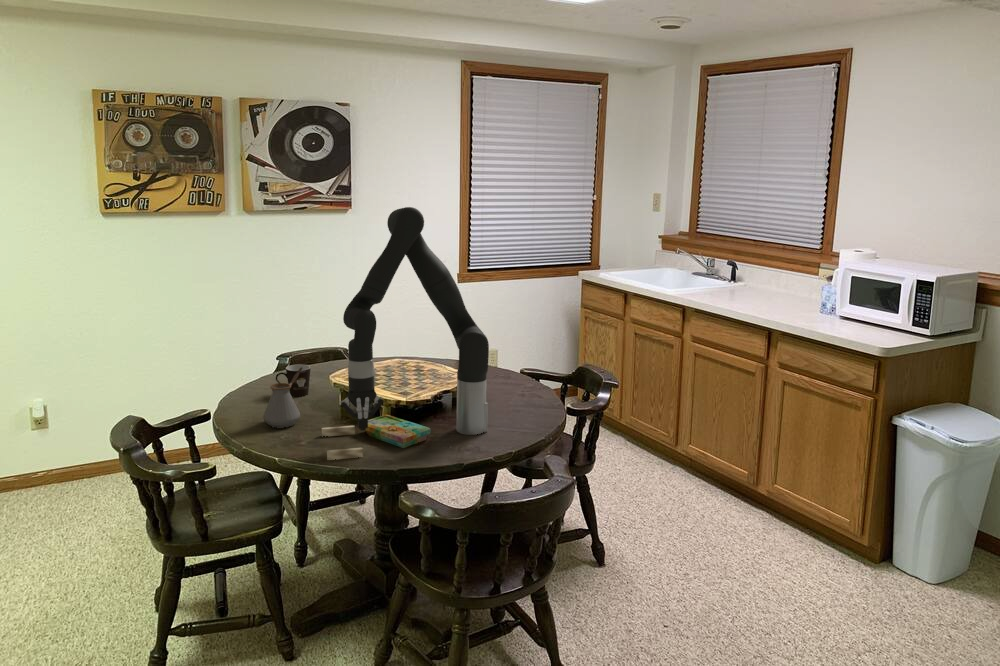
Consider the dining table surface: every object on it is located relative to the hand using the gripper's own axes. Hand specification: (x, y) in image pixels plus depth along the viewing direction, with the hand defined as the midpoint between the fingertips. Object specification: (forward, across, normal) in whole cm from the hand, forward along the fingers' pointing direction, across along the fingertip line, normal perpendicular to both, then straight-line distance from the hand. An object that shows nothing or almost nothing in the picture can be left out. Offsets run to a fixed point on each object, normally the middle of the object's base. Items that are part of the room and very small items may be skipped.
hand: (362, 429), depth 230 cm
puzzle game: (+6, -10, -4) cm, 12 cm away
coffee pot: (+5, +20, -29) cm, 35 cm away
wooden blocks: (+5, +6, 0) cm, 8 cm away
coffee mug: (+5, +17, -56) cm, 58 cm away
